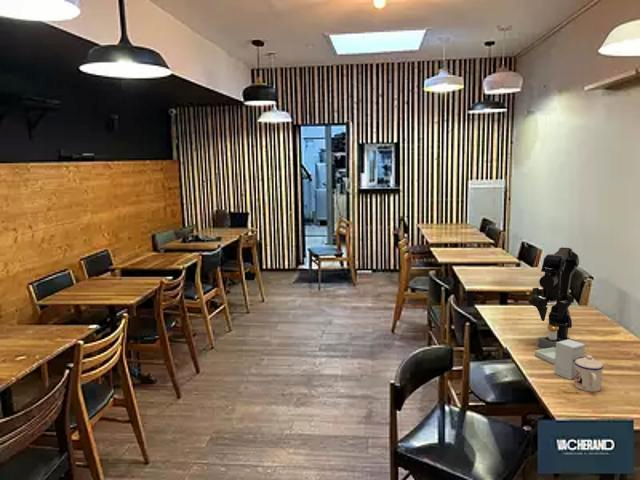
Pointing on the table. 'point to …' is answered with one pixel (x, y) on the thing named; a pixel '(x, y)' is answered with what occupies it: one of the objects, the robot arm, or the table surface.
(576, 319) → the table surface
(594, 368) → the teacup with lid
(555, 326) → the pin
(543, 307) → the robot arm
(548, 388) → the table surface
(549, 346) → the bracket
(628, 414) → the table surface
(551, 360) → the tray
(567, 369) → the supplement box
